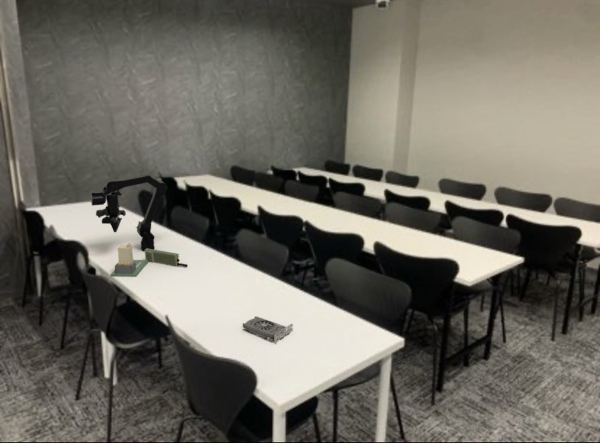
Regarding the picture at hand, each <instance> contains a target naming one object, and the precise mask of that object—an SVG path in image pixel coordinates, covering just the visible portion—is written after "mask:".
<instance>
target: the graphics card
mask: <svg viewBox="0 0 600 443" xmlns="http://www.w3.org/2000/svg"><path fill="white" fill-rule="evenodd" d="M293 326H294V323H290V324H288V325H283V324H280V323H277V322H274V321H271V320H268V319H265V318H262V317H260V316H254V318H251V319H249V320H247V321H246V322H245V323H244V322H243V323H242V328H243V329H246V330H247V331H248V333H249V332H250V333H252V334H255V335H257V336H259V337H262V338H260V339H261V340H264V341H265V342H269V343H271V344H276V345H277V342H278V341H279V340H283V339H284V337H285V336H288V335H290V334H291V332H292V331H293V330H294V327H293Z"/></svg>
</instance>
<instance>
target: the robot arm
mask: <svg viewBox="0 0 600 443" xmlns="http://www.w3.org/2000/svg"><path fill="white" fill-rule="evenodd" d="M143 184H149V185H150V186H152V188H153V189H152V197H151V200H150V203H149V204H148V208H147V210H146V213H145V216H144V218H143V220H142V221H138V223H137V226H136V228H135V229H136V232H137V234H138V235H139V236H140V237H141V241H140V249H141V251H142V252H145V249H146V248H148V249H154V250H155V249H156V248H155V235H154V234H153V233H152V232H151V231H152V223H153V220H154V217H155V214H156V212H157V209H158V206H159V204H160V201H161V199H162V198H163V197H164V196H165V194H166V193H167V191H168V185H167V184H166V182H164V181H162V180H157V179H155V178H154V177H152V176H151V175H150V174H147V173H146V174H142V175H139V176H133V177H128V178H121V179H119V178H114V179H107V180H105V184H104V186H103V188H102V190H101V191H97V192H96V191H94V192H93V191H91V192H90V203H91V206H94V207H95V206H103V205H105V204H106V206H105V208H103V209H97V210H96V211H95V216H96V217H98V218H102V217H103V218H102V219H101V224H105V225H107V224H108V225H110V226H111V229H112V230H113V233H117V232H118V230H119V227H120V224H121V222H122V219H123V218H122V217H125V216H126V215H127V214H126V210H125V209H120V207H121V204H120V203H119V202H120V201H119V196H122V195H123V193H122V192H121V191H120V190H122V189H124V188H126V187H132V186H137V185H143ZM104 216H105V217H104ZM120 216H122V217H120Z"/></svg>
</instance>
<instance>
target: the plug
mask: <svg viewBox="0 0 600 443" xmlns="http://www.w3.org/2000/svg"><path fill="white" fill-rule="evenodd" d="M117 253H118V262H120V265H121V262H123V265H124V262H126V265H127V263H128V262H129V265H131V264H132V263H133V260H134V256H133V255H134V254H133V245H132V243H130V242H129V243H127V244H120V246H118V247H117Z"/></svg>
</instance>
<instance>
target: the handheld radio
mask: <svg viewBox="0 0 600 443" xmlns="http://www.w3.org/2000/svg"><path fill="white" fill-rule="evenodd" d="M144 256H145V260H149V262H150V263H155V264H159V265H165V266H171V267H175V268H176V267H177V268H178V267H184V268H188V264H186V263H180V261H181V260H180V259H179V258H180V253H176V252H170V251H165V250H159V249H155V248H154V249H148V248H146V249H145V251H144ZM149 262H148V263H149Z"/></svg>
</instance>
